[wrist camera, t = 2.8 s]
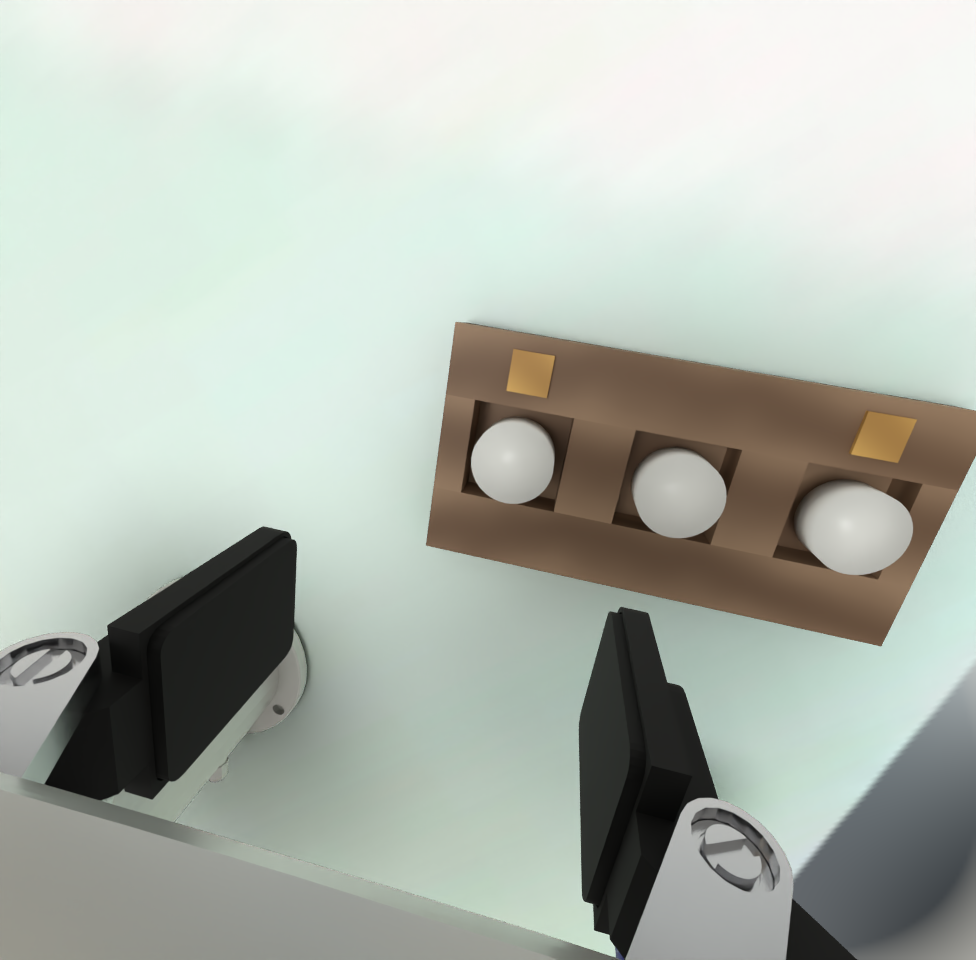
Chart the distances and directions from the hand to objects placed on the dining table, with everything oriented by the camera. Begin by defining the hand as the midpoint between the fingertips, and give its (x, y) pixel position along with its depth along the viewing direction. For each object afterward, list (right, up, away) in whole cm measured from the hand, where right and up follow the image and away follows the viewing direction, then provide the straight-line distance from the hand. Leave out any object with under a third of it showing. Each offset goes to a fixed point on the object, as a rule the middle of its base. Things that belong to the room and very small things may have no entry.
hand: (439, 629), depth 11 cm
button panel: (+11, +4, +16) cm, 19 cm away
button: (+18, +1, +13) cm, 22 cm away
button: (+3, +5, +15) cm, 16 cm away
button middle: (+10, +3, +14) cm, 18 cm away
